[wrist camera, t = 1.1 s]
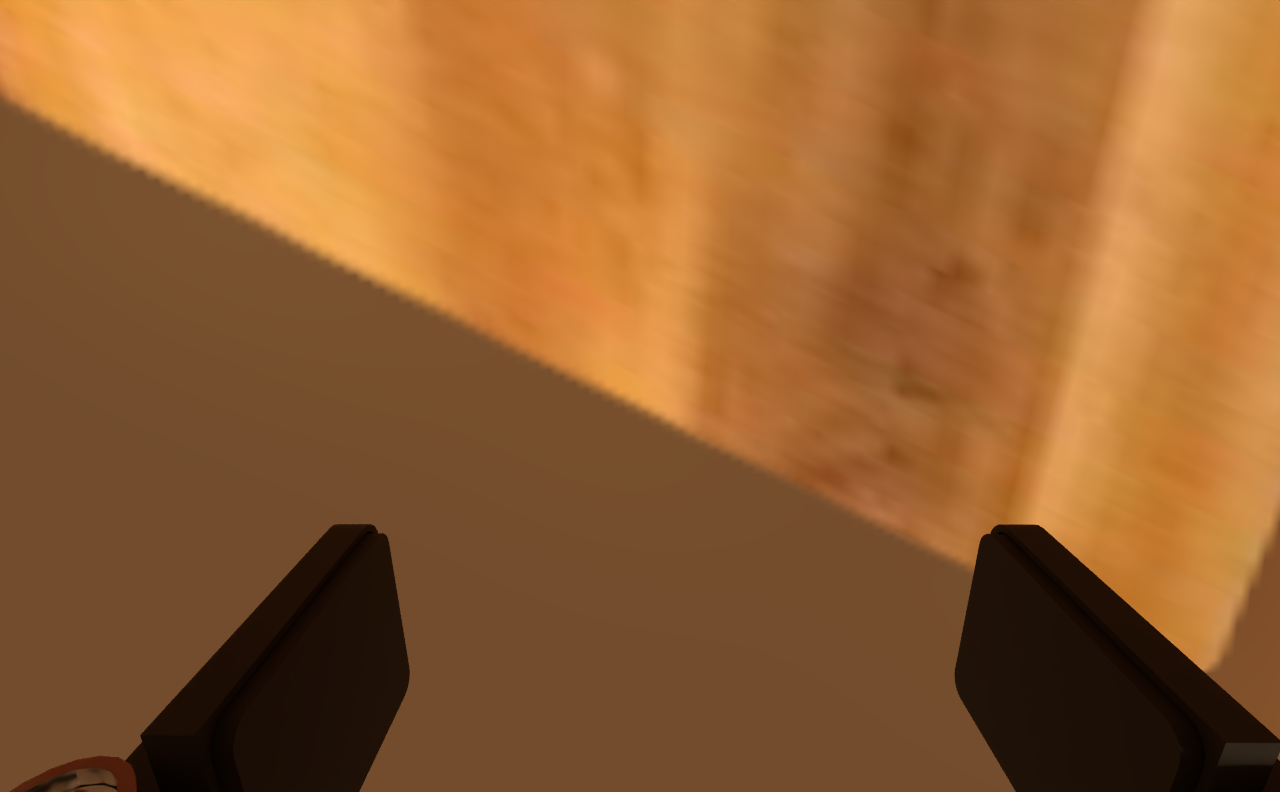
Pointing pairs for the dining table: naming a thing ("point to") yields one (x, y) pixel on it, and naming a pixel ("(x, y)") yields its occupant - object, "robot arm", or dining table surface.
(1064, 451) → the dining table surface
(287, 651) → the robot arm
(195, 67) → the dining table surface
